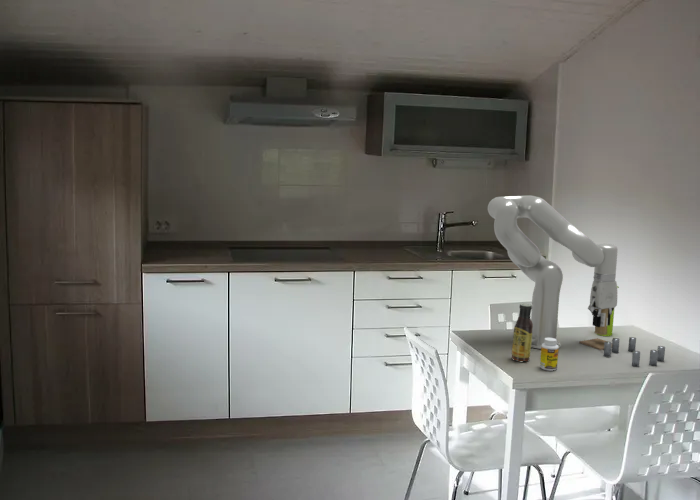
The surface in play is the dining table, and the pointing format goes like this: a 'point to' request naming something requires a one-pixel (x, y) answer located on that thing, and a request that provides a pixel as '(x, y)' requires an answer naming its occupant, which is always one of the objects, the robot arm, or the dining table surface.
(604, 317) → the sprinkles bottle
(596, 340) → the walnut pad
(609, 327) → the soap dispenser
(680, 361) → the dining table surface
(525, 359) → the sauce bottle
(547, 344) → the supplement bottle
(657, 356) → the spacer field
